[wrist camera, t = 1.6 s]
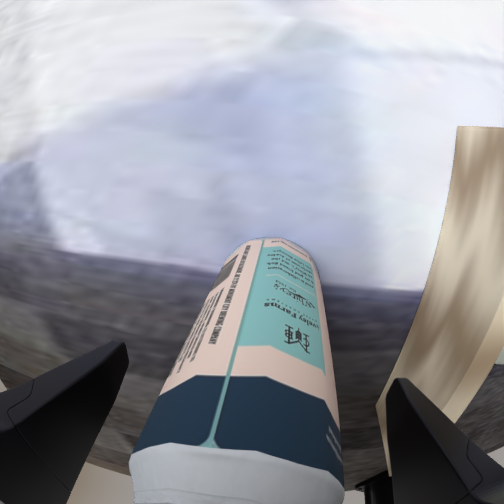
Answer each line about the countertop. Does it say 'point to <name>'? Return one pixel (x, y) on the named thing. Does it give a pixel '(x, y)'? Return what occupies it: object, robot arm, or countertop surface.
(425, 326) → the birch screen
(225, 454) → the beer can
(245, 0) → the countertop surface
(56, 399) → the robot arm
